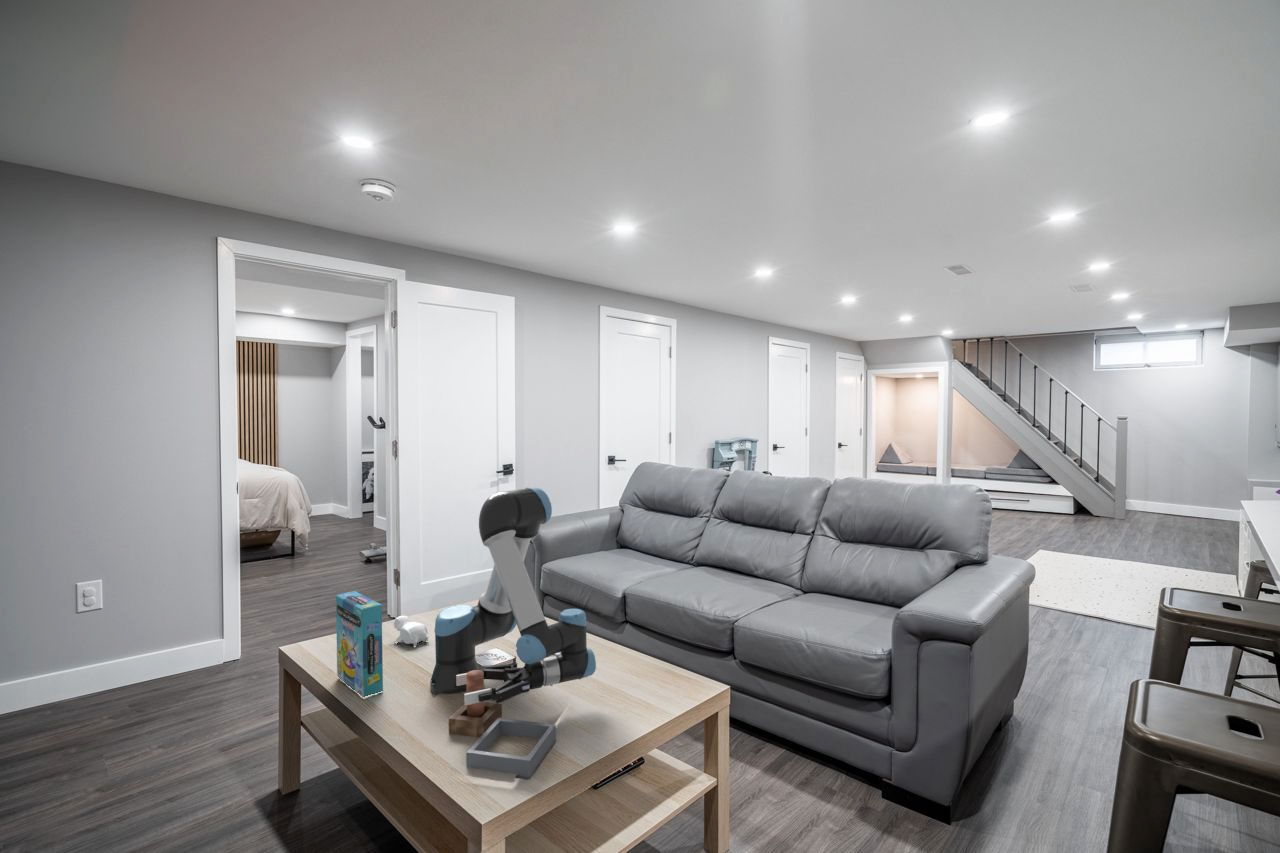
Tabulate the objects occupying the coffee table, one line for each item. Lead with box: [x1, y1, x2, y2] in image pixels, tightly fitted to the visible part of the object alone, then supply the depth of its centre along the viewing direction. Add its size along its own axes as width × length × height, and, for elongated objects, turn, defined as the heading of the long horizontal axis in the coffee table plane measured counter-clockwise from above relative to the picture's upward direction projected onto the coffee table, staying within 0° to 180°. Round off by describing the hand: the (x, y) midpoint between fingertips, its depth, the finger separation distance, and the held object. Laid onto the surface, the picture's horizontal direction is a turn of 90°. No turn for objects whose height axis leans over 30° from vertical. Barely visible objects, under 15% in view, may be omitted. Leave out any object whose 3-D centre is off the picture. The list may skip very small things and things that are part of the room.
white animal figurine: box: [393, 615, 430, 647], centre depth 218 cm, size 9×8×15 cm
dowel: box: [466, 669, 485, 718], centre depth 156 cm, size 4×4×14 cm
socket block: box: [448, 701, 503, 739], centre depth 156 cm, size 10×10×5 cm
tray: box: [465, 717, 557, 780], centre depth 144 cm, size 16×16×4 cm
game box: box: [335, 590, 384, 697], centre depth 182 cm, size 20×6×27 cm, turn 47°
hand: (460, 689), depth 154 cm, fingers open, 11 cm apart
